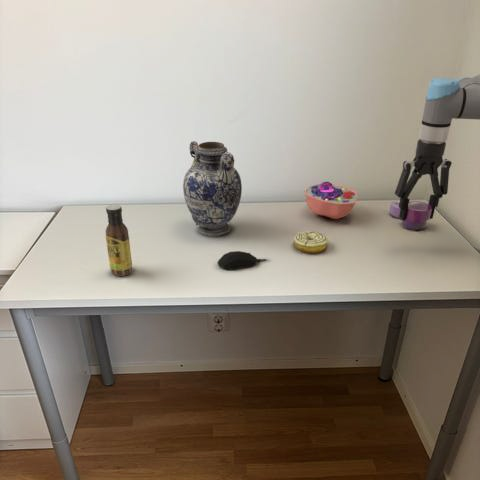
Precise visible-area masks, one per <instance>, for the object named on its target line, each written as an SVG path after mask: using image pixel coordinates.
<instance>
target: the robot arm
mask: <svg viewBox="0 0 480 480" xmlns="http://www.w3.org/2000/svg"><path fill="white" fill-rule="evenodd" d="M453 119H456V120H460V119H461V120H480V74H477V75H475V76H473V77H461V78H458V79H456V78H450V77H448V78H447V77H437V78H433V79H432V80H431V81H430V82H429V84H428V89H427V93H426V96H425V103H424V108H423V114H422V120H421V122H420V127H419V128H420V129H419V133H418V140H417V143H416V144H417V145H416V147H415V156H414V158H413V160H411V161H407V160H404V161H403V162H402V170H401V173H400V176H399V179H398V183H397V186H396V188H395V191H394V195H395V196H396V197H398V198H399V200H400V202H399V208H400V209H401V210H400V215H399V218H398V219H400V220H401V221H402V220H403V221H405V220H406V215H407V210H408V205H409V201H411V199H410V198H409V196H410V195H411V193H412V191H413V189H414V188H415V187H416V185H417V183H418V181H419V180H420V179H421V178H422V177H423V176H425V175H429V178H430V182H431V188H432V194H430V196H429V200H428V204H430V205H431V206H432V212H431V216H430V219H429V220H432V219H433V218H434V214H435V209H436V208H437V207H438V206H439V203H440V199H441V198H443V195H444V196H446V195H447V194H448V192H449V191H448V190H449V178H450V168H451V167H452V164H453V162H452V161H451V160H449V159H448V158H445V159H443V156H444V155H445V150H446V147H447V143H446V142H447V141H448V136H449V133H450V128H451V124H452V121H453ZM413 167H414V168H413ZM439 167H440V178H439V171H438V169H439ZM433 220H434V219H433Z"/></svg>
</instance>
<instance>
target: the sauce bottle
mask: <svg viewBox="0 0 480 480" xmlns="http://www.w3.org/2000/svg"><path fill="white" fill-rule="evenodd" d="M105 211H106V214H107V223H108V224H107V226H106V228H105V241H106V248H107V256H108V263H109V268H110V272H111V274H112V275H114V276H117V277H124V276H128V275H130V274H131V273H132V272H133V260H132V251H131V243H130V236H129V229H128V227H127V226H126V224H125V223H124V219H123V215H122V212H123V208H122V205H120V204H117V203H113V204H108V205H107V206H106V207H105Z"/></svg>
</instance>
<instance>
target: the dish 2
mask: <svg viewBox="0 0 480 480" xmlns="http://www.w3.org/2000/svg"><path fill="white" fill-rule="evenodd" d="M431 212H432V206H431V205H430V204H429V202H428V203H427V202H424V201H419V200H418V201H417V200H409V205H408V210H407V215H406V219H407V220H408V221H411V222H416V223H421V222H425V221H427V222H428V221H429V220H431V219H430V216H431Z"/></svg>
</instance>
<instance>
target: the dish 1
mask: <svg viewBox="0 0 480 480" xmlns="http://www.w3.org/2000/svg"><path fill="white" fill-rule="evenodd" d="M399 202H400V199H397V200H393V201H390V205H389V210H388V213H389V214H390V215H391V216H392V217H394V218H395V219H396V218H397V219H400V218H399V215H400V210H401V209H400V208H399Z"/></svg>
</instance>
